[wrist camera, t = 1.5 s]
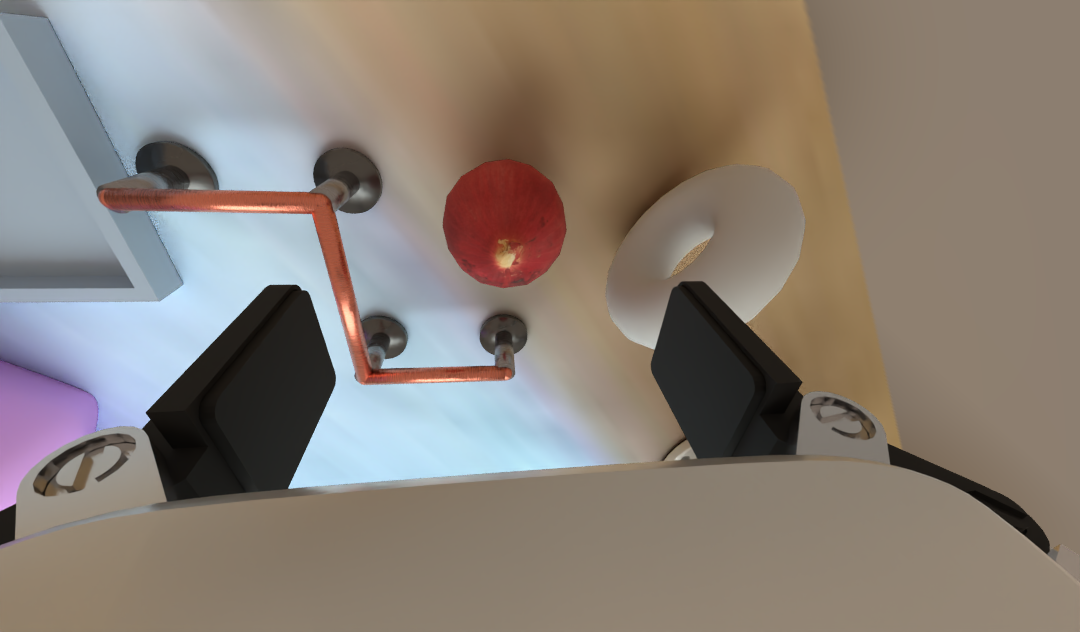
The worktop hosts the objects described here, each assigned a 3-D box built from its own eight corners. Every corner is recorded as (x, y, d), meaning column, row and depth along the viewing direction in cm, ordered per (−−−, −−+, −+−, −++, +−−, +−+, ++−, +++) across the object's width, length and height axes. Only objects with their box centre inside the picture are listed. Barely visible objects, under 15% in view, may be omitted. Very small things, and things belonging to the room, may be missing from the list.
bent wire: (525, 352, 27) (531, 396, 24) (234, 358, 25) (189, 409, 21) (534, 155, 20) (543, 174, 16) (128, 139, 18) (33, 158, 14)
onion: (558, 244, 23) (585, 315, 16) (463, 257, 23) (451, 335, 16) (549, 140, 20) (578, 176, 13) (439, 155, 20) (411, 199, 13)
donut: (702, 132, 20) (846, 176, 12) (737, 173, 22) (888, 238, 14) (577, 268, 24) (621, 373, 16) (614, 296, 26) (673, 406, 17)
